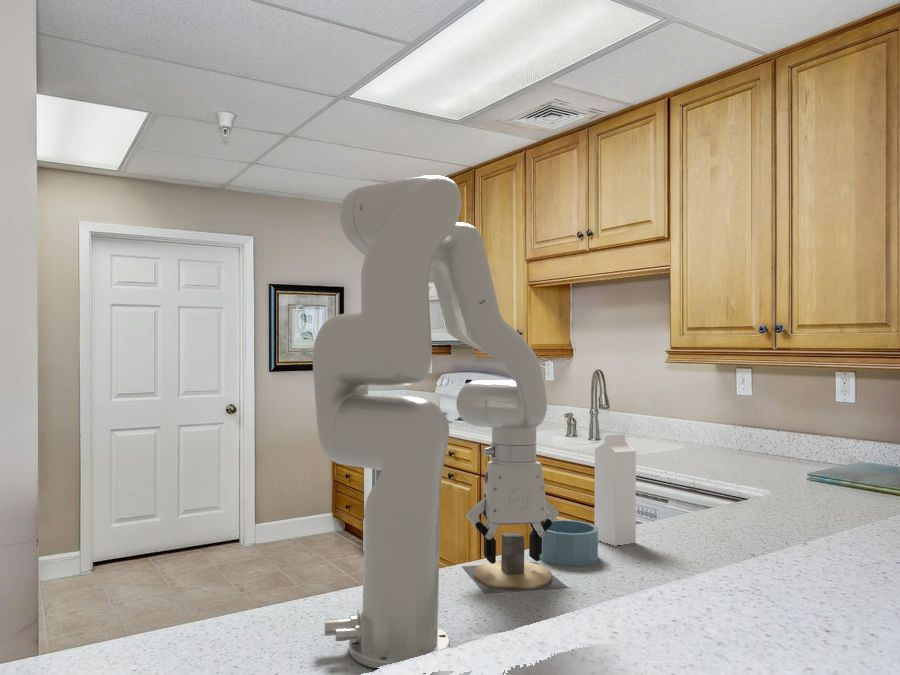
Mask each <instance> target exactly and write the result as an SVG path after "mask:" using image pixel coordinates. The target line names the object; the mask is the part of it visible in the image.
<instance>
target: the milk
mask: <svg viewBox="0 0 900 675" xmlns="http://www.w3.org/2000/svg"><path fill="white" fill-rule="evenodd" d="M636 480H637V451H636V450H635V449H634V448H633V447H632V446H631V445H630V444H629V443H628V442H627V441H626V434H625V433H619V434H606V435H605V436H604V443H602V444H600V445H599V446H597V447H595V449H594V507H593V508H594V514H593V515H594V516H593V517H594V520H593V521H594V522H593V523H594V524H593V525H595V526H597V527H598V542H599V541H601V542H600V543H603V542H604V543H603V544H606V543H608V544H607V545H609V544H611V545H610V546H612V545H615V546H616V547H618V546H617V545H621V546H624V545H623V544H627V545H632V544H636V542H637V540H636V539H637V538H636V534H637V530H636V529H637V527H636V526H637V525H636V524H637V521H636V520H637V519H636V517H637V510H636V509H637V506H636V505H637V499H636V498H637V495H636V494H637V481H636ZM631 543H632V544H631ZM615 546H614V547H615Z"/></svg>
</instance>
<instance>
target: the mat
mask: <svg viewBox="0 0 900 675" xmlns="http://www.w3.org/2000/svg"><path fill="white" fill-rule="evenodd" d="M529 562H530V561H529ZM530 563H534V564H538V565H541V564H540V563H539V562H538V561H531V562H530ZM478 565H479V564H478ZM478 565H477V564H476V565H463V566H462V565H461V568H462V569H463V570H464V572H466V574H467V575H468V576H469V577H470V578H471V580H472V581H473V582H474V583H475V584H476V585H477V587H478V588H479V589H480V590H481V592H483V593H484V594H485V595H486V594H487V595H488V594H501V593H515V592H516V593H517V592H529V591H530V592H531V591H532V592H533V591H543V590H545V591H546V590H558V589H559V590H561V589H569V587H568V586H567V585H566V584H565V583H564V582H562V581H561V580H560V579H558V578H557V577H556V576H555V575H553V574H552V580H551V582H550V583H549V584H547V585H545V586H542V587H539V588H534V589H523V590H513V589H502V588H496V587H492V586H488V585H485V584H482V583H480V582H479V581H477V580H476V579H475V577H474V569H475V567H477V566H478Z"/></svg>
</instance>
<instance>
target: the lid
mask: <svg viewBox="0 0 900 675" xmlns="http://www.w3.org/2000/svg"><path fill="white" fill-rule="evenodd" d="M525 539H526V538H525V536H523V535H522V534H521V533H519V532H513V533H501V555H500V556H501V558H500V559H501V560H496V563H495V564H491V563H490V562H489V561H487V562H483V563H481V564H478V566H477V567H475V569H474V577H475V579H476V580H477V581H479V582H480V583H482V584H485V585H488V586H492V587H496V588H502V589H513V590H523V589H534V588H539V587H542V586H545V585H547V584H549V583H550V582H551V580H552V575H553V574H552V571H551V570H550V569H549V568H547V567H545V566H544V565H541V564H540V565H538V564H539V563H538V564H534V563H530V561H525Z"/></svg>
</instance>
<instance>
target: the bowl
mask: <svg viewBox="0 0 900 675" xmlns="http://www.w3.org/2000/svg"><path fill="white" fill-rule="evenodd" d="M540 560H541V561H543V562H545V563H550V564H552V565H557V566H566V567H567V566H568V567H580V566H581V567H582V566H583V567H584V566H590V565H593V564H596V563H598V560H599V541H598V527H597V526H595V525H594V524H593V523H589V522H584V521H580V520H571V519H555V520H554V521H553V522H552V525H551V526H550V527H549V528H548V530H547V531H546V532H545V535H544V536H543V537H542V554H540Z"/></svg>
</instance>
